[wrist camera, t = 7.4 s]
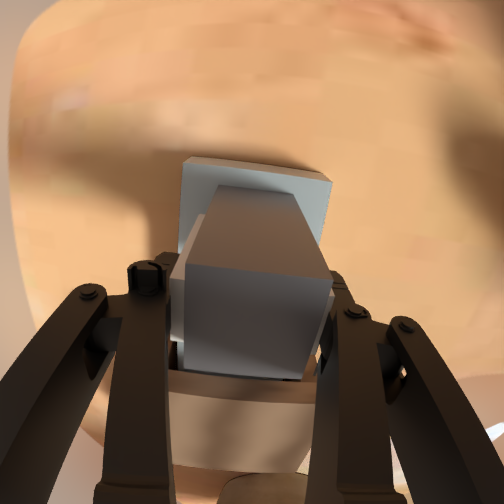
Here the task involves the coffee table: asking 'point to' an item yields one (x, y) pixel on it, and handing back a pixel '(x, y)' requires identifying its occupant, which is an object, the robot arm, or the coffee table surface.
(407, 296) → the coffee table surface
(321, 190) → the light blue l-shaped piece
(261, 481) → the plant pot
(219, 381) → the open brown box
